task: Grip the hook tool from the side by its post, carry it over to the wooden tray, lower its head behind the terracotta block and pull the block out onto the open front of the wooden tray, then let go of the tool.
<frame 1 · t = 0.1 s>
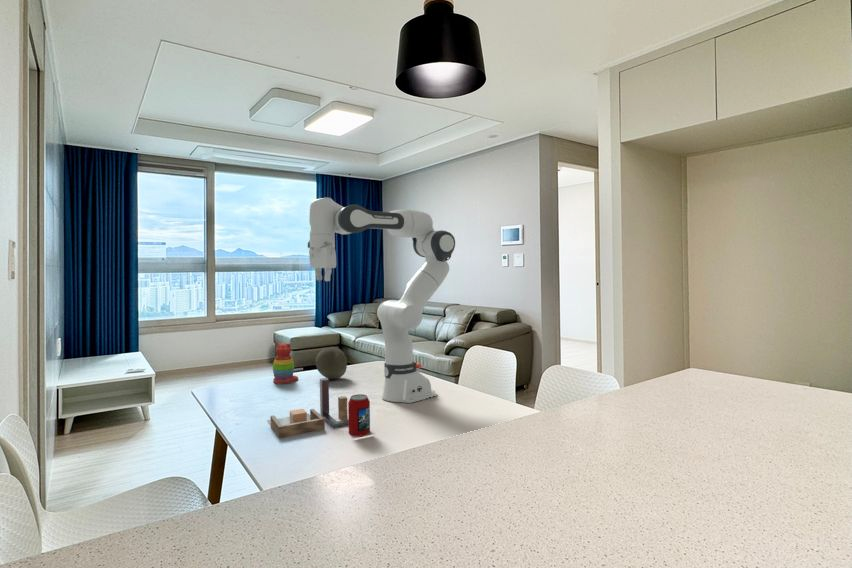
hand: (323, 280, 169), 48 cm above the table, tool pointing down, fingers open, 8 cm apart
beverage can: (359, 434, 147), on the table
hook tool: (324, 418, 162), on the table
stacking bear: (284, 381, 213), on the table
block: (298, 424, 154), point 1 cm above the table, touching wooden tray
wooden tray: (297, 429, 152), on the table
cantaloupe: (331, 379, 216), on the table
plain rod: (343, 420, 160), on the table
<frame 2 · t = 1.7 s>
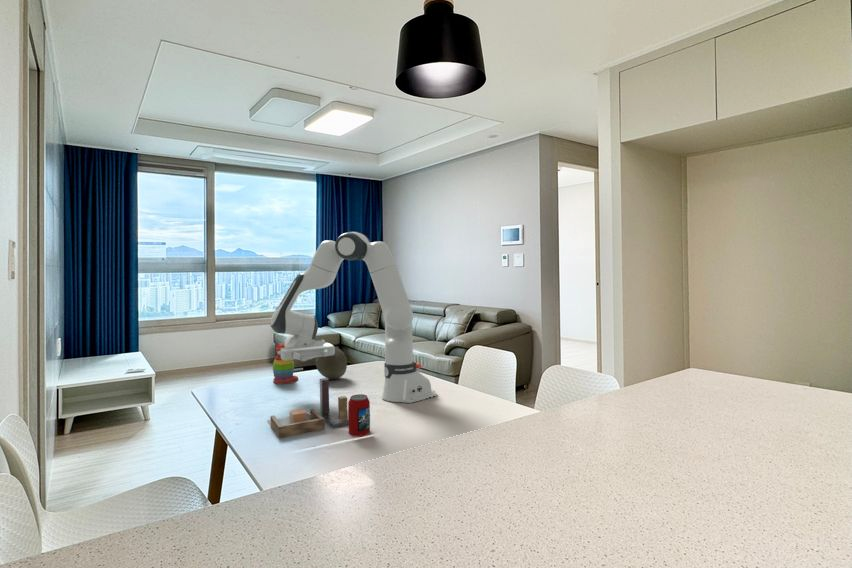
hand: (313, 355, 171), 20 cm above the table, tool horizontal, fingers open, 8 cm apart
nothing on the table moved.
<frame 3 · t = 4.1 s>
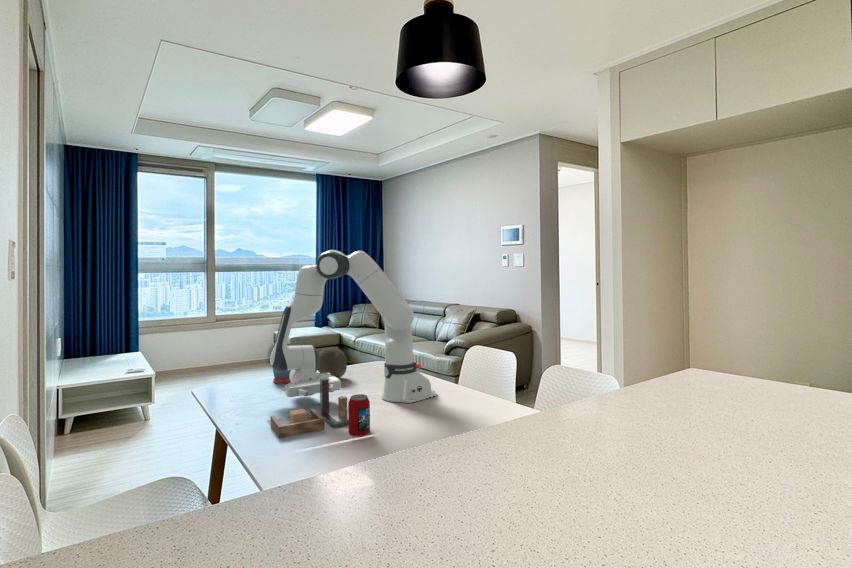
hand: (319, 392, 167), 8 cm above the table, tool horizontal, fingers open, 8 cm apart
nothing on the table moved.
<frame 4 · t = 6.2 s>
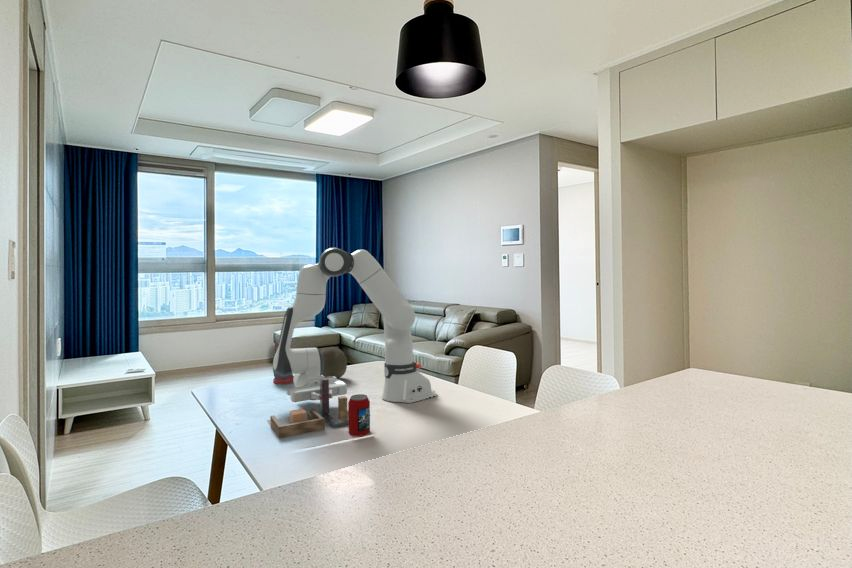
hand: (325, 396, 160), 8 cm above the table, tool horizontal, fingers closed on hook tool, 2 cm apart
hook tool: (324, 418, 162), on the table, touching gripper
everything else where it was.
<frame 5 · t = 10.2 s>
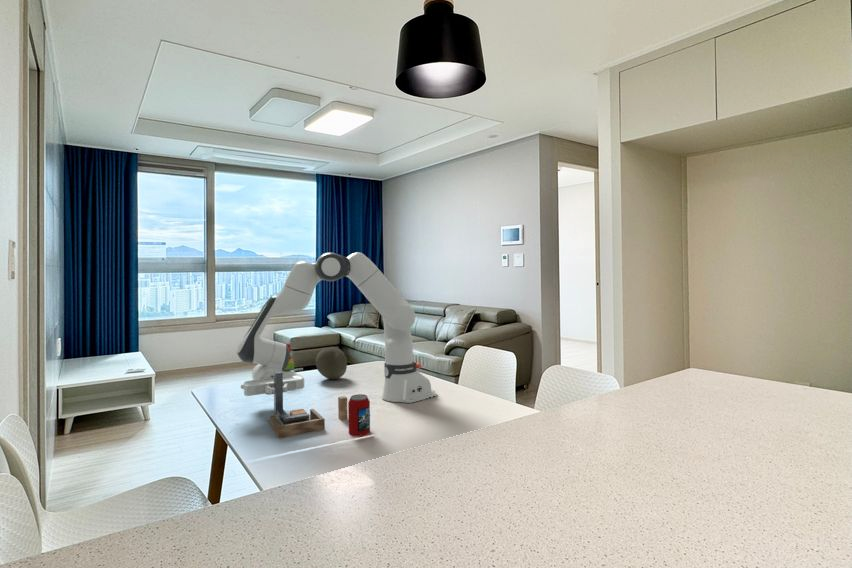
hand: (279, 390, 155), 12 cm above the table, tool horizontal, fingers closed on hook tool, 2 cm apart
hook tool: (278, 413, 156), point 4 cm above the table, touching gripper
everything else where it was.
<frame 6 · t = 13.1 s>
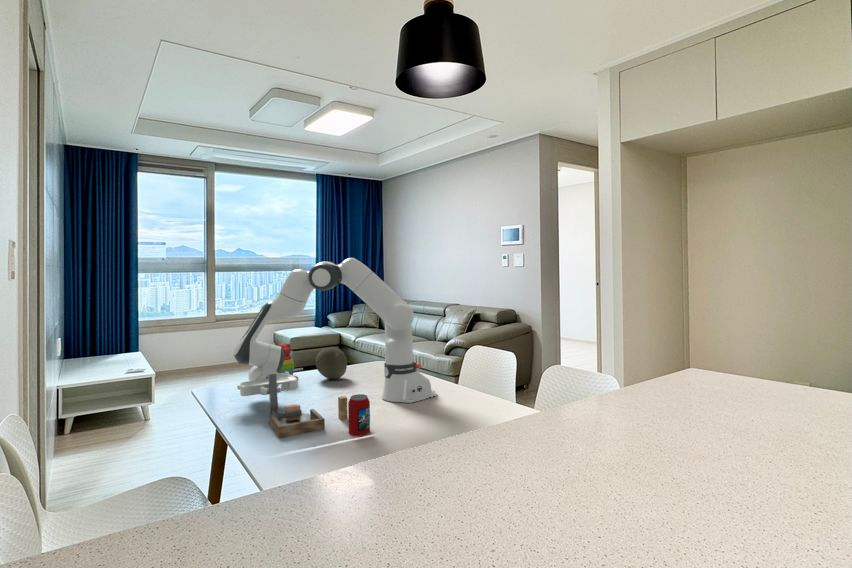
hand: (273, 391, 163), 9 cm above the table, tool horizontal, fingers closed on hook tool, 2 cm apart
hook tool: (274, 414, 163), point 1 cm above the table, tilted 8°, touching block, gripper
block: (292, 419, 159), point 1 cm above the table, tilted 8°, touching wooden tray, hook tool
everything else where it was.
when the fingers open (9 cm above the table, at t = 14.2 s): hook tool stays where it is, resting on wooden tray.
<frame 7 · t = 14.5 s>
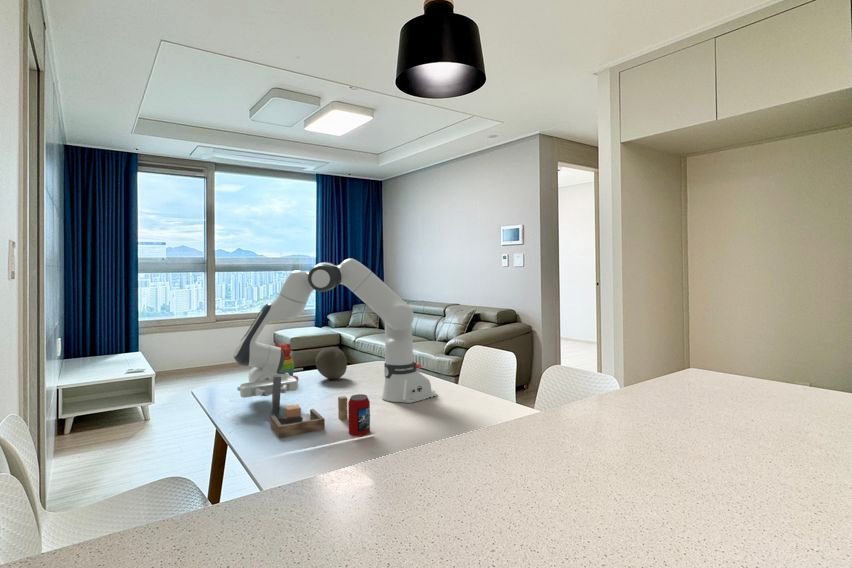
hand: (273, 392, 163), 9 cm above the table, tool horizontal, fingers open, 6 cm apart
hook tool: (275, 416, 163), on the table, tilted 7°, touching wooden tray
block: (292, 419, 159), point 1 cm above the table, touching wooden tray
everything else where it was.
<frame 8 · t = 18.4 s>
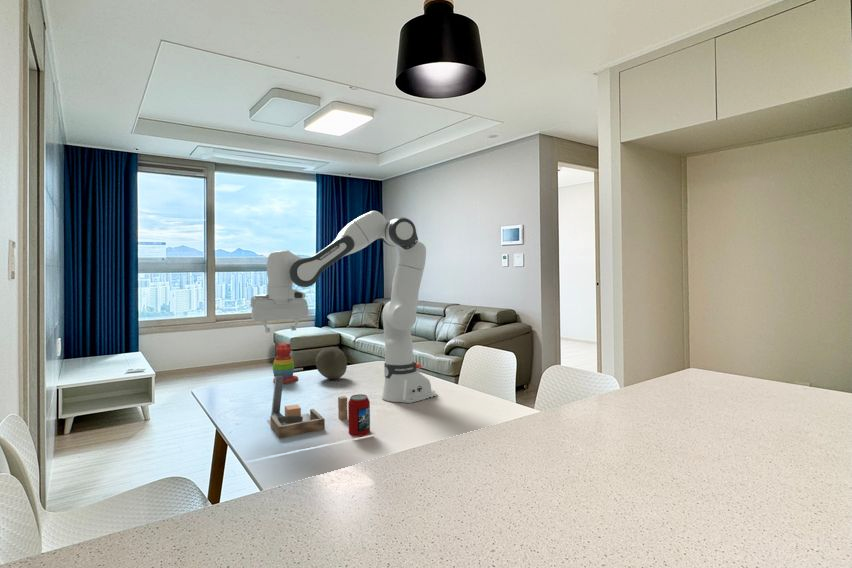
hand: (280, 331, 172), 29 cm above the table, tool pointing down, fingers open, 8 cm apart
hook tool: (275, 416, 163), on the table, tilted 11°, touching wooden tray
everything else where it was.
at the end: block inside the target area (2.0 cm from its centre), point 0.6 cm above the table; the gripper is holding nothing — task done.
